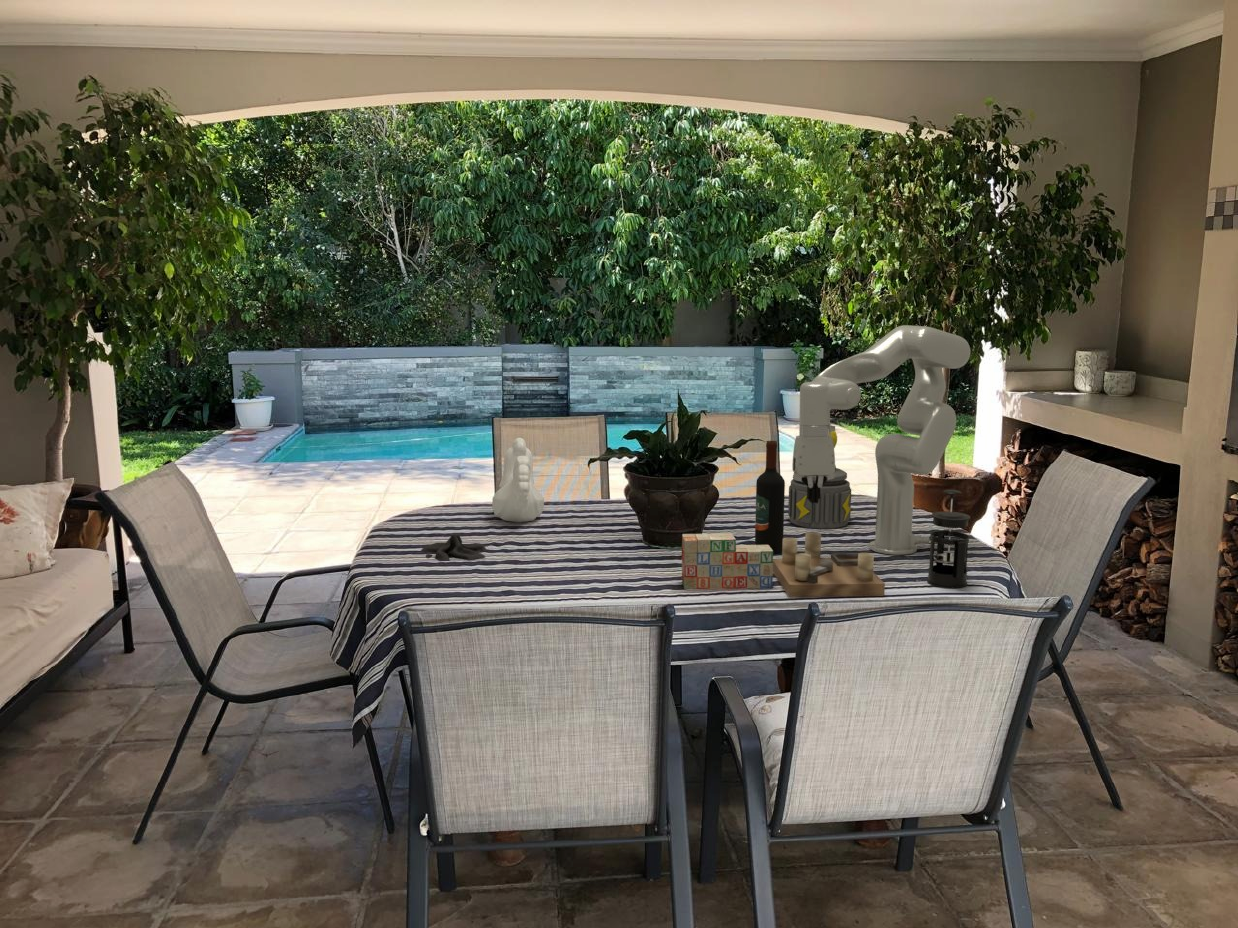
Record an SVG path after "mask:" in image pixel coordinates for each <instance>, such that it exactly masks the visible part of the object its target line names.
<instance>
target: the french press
mask: <svg viewBox="0 0 1238 928" xmlns="http://www.w3.org/2000/svg"><path fill="white" fill-rule="evenodd" d="M942 492H943V494H948V495H949V499H950V509H949V510H950V511H945V510H944V511H943V510H942V511H936V512H932V513H931V517H932V520H933V521H932V524H933V525H935V526H937V527H941V528H945V529H947V528H948V529H949V530H937V531H931V533H930V534H929V535H930V536H929V541H930V550H929V564H928V565H929V566H928V574H927V579H926V582H927V584H928V585H930V586H933V587H936V588H940V589H941V588H942V589H948V590H949V589H953V590H954V589H956V590H957V589H962V588H966V587H967V586H968V581H967V577H968V570H967V569H968V568H967V565H968V564H967V563H968V551H969V550H968V548H969V547H968V546H969V543H970V536H969V534H967V533H964V532H960V531H953V530H952V529H963V528H967V527H968V526H969V520H970V519H971V516H970V515H969V514H967V513H963V512H957V511H953V500H954V499H955V495H960V494H962V492H961V491H960V490H958V489H945V490H943V491H942ZM945 537H948V538H945ZM951 537H953V538H960V539H951ZM935 543H936V553H935ZM945 546H948V547H947V552H944V551H945ZM951 546H954V547H953V548H954V549H953V550H954V551H953V553H951V552H950V551H951ZM934 563H935V565H934Z"/></svg>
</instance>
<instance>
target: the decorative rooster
mask: <svg viewBox="0 0 1238 928" xmlns="http://www.w3.org/2000/svg"><path fill="white" fill-rule="evenodd" d="M533 461H534V458H533V453H532V452H531V450H530V449H529V448H528V447H527V443H526V440H525V439H524V438H523V437H517V438H515V439H514V440H513V442H512V446H510V447H509V448H508V449H507V450H506V451H505V454H504V459H503V471H502V472H503V473H502V477H501V479H500V482H499V485H498V487H499V489H498V490H497V491H496V492H495V493H494V495H493V496H492V499H491V501H492V502H491V503H492V504H491V505H492V506H491V507H492V510H493V513H494V515H495V516H498V517H499V519H501V520H503V521H506V522H512V523H526V522H532V521H534V520H536V519H537V517H541V516H542V513H543V511H544V506H545V504H544V503H545V498H544V496H543V494H542V493H541V491H540V490H539V489H538V488H537V487H536V486H535V482H534V470H533V469H534V463H533Z"/></svg>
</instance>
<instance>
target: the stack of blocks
mask: <svg viewBox="0 0 1238 928" xmlns="http://www.w3.org/2000/svg"><path fill="white" fill-rule="evenodd" d="M681 538H682V539H681V540H682V541H681V583H682V585H683V589H684V590H720V589H721V590H723V589H724V590H725V589H728V590H729V589H771V588H773V582H774V581H773V580H774V573H773V559H774V554H773V550H772V549H771V548H770V546H769V545H755V544H737V539H736V538H735V536H734V535H733V533H732V532H729V533H728V532H727V533H725V532H724V533H723V532H722V533H721V532H720V533H715V532H714V533H713V532H712V533H682V535H681Z"/></svg>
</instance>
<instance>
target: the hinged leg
mask: <svg viewBox="0 0 1238 928" xmlns="http://www.w3.org/2000/svg"><path fill="white" fill-rule="evenodd" d="M832 570H833V561H831V560H820V566H818V567H816V568H813V569H811V555H809V554H805V552H804V553H797V554H796V556H795V579H796V580H801V581H806V580H808V574H810V573H815V574H818V575H819V574H822V573H824V572H827V571H832Z"/></svg>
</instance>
